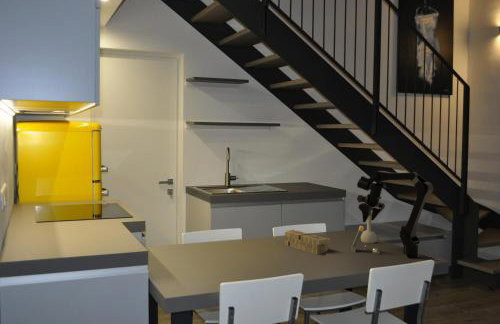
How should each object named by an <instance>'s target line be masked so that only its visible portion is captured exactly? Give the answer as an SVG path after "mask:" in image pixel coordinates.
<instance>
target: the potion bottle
mask: <svg viewBox="0 0 500 324" xmlns="http://www.w3.org/2000/svg"><path fill="white" fill-rule="evenodd" d="M371 217H372V211H371V214H370V215H369V217H368V219H367V220H366V230H363V232H362V233H361V235H360V241H361V242H362V243H366V244H375V243H376V242H377V240H378V239H377V235H376V232H375V231H373V230H372V220H371Z"/></svg>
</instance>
